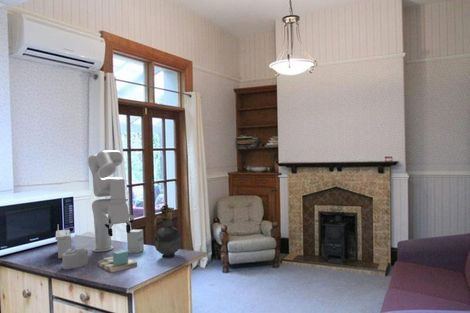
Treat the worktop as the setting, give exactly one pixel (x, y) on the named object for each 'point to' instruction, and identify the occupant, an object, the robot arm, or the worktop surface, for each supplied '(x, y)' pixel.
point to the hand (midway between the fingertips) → (119, 234)
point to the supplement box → (135, 241)
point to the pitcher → (167, 234)
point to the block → (120, 257)
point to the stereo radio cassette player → (63, 241)
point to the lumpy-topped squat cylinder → (75, 258)
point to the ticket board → (108, 265)
